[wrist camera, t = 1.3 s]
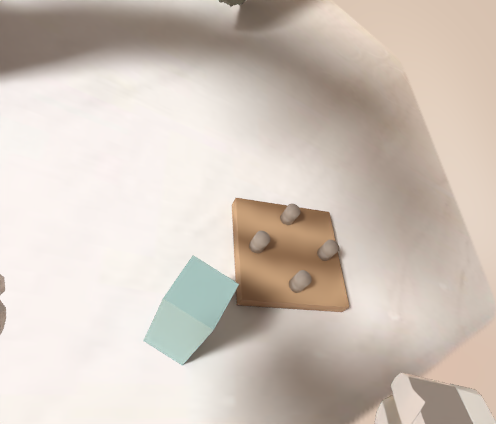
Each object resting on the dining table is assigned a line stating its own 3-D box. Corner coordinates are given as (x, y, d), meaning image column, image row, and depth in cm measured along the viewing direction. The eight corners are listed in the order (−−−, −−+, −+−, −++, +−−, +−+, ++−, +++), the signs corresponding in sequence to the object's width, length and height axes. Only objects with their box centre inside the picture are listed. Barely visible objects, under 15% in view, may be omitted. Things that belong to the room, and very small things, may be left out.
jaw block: (182, 365, 34) (213, 330, 27) (143, 340, 34) (163, 298, 27) (204, 326, 37) (239, 284, 29) (168, 303, 37) (193, 255, 29)
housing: (231, 204, 46) (241, 187, 43) (323, 218, 49) (337, 203, 47) (236, 305, 39) (248, 291, 36) (342, 312, 43) (359, 300, 40)
